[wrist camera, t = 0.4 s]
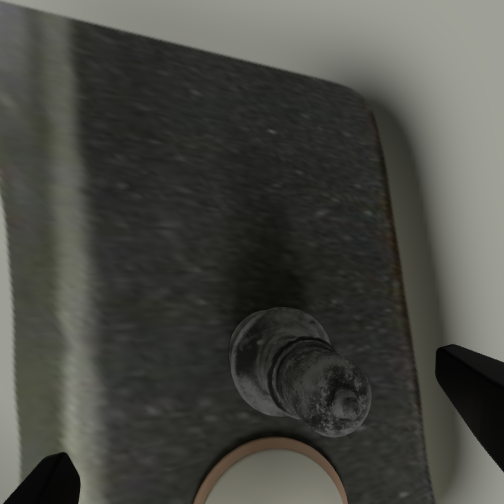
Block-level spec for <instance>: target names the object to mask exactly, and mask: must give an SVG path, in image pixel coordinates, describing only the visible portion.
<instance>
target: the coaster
mask: <svg viewBox="0 0 504 504" xmlns="http://www.w3.org/2000/svg"><path fill="white" fill-rule="evenodd" d="M193 504H348V502H347V497H346V493H345V490H344V487H343V485H342V483H341V480H340V478H339V476H338V475H337V473H336V472H335V470H334V468H333V467H332V466H331V465H330V463H329V462H328V461H327V460H326V459H325V457H324V456H322V455H321V454H320V453H319V452H318V451H317V450H315V449H314V448H312V447H311V446H309V445H308V444H305V443H303V442H301V441H299V440H295V439H292V438H287V437H273V436H271V437H264V438H259V439H255V440H251V441H249V442H247V443H244V444H242V445H240V446H238V447H237V448H235V449H233V450H232V451H230V452H229V453H228V454H226V455H225V456H224V457H223V458H222V459H221V460H220V461H219V462H218V463H217V464H216V465H215V466H214V467H213V468H212V469H211V471H210V472H209V473H208V474H207V476H206V477H205V479H204V481H203V482H202V484H201V486H200V488H199V490H198V492H197V494H196V496H195V499H194V502H193Z"/></svg>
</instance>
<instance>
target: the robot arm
mask: <svg viewBox="0 0 504 504" xmlns="http://www.w3.org/2000/svg"><path fill="white" fill-rule="evenodd" d="M435 374H436V378H437V381H438V383H439V384H440V386H441V387H442V389H443V390H444V392H445V393H446V395H447V396H448V398H449V399H450V401H451V402H452V404H453V405H454V406H455V408H456V409H457V411H458V412H459V414H460V415H461V417H462V418H463V420H464V421H465V423H466V424H467V426H468V427H469V428H470V430H471V431H472V433H473V434H474V436H475V437H476V438H477V440H478V441H479V442H480V444H481V445H482V446H483V447H484V449H485V450H486V451H487V452H488V454H489V455H490V456H491V457H492V459H493V460H494V461H495V462H496V463H497V465H498V466H499V467H500V468H501V470H502V471H503V472H504V362H501V361H499V360H496V359H493V358H491V357H488V356H485V355H482V354H480V353H477V352H474V351H472V350H469V349H466V348H464V347H461V346H458V345H455V344H450V345H447V346H443V347H440V348H438V349H437V351H436V367H435ZM80 486H81V483H80V477H79V474H78V472H77V470H76V468H75V467H74V465H73V463H72V461H71V459H70V457H69V456H68V454H67V453H65V452H61V453H57V454H53V455H50V456H47V457H45V458H44V459H43V460H42V461H41V462H40V463H39V464H38V465H37V466H36V467H35V468H34V469H33V471H32V472H31V473H30V474H29V475H28V476H27V477H26V478H25V480H24V481H23V482H22V483H21V484H20V485H19V486H18V487H17V489H16V490H15V491H14V492H13V493H12V494H11V495H10V497H9V498H8V499H7V500H6V501H5V502H4V503H3V504H78V502H79V495H80Z"/></svg>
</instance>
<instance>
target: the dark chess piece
mask: <svg viewBox="0 0 504 504" xmlns="http://www.w3.org/2000/svg"><path fill="white" fill-rule="evenodd" d="M229 361H230V364H231V373H232V377H233V380H234V384H235V387H236V388H237V390H238V391H239V393H240V395H241V396H242V398H243V399H244V400H245V401H246V402H247V403H248V404H249V405H250V406H251V407H253V408H254V409H256V410H258V411H260V412H262V413H264V414H266V415H271V416H277V417H283V416H291V417H293V418H296V419H301V420H302V421H303V422H304V423H305V424H306V425H307V426H308V427H309V428H310V429H311V430H313V431H315V432H317V433H319V434H321V435H323V436H328V437H340V436H345V435H347V434H349V433H351V432H353V431H354V430H355V429H357V428H358V427H359V426H360V425H361V424H362V422H363V421H364V420H365V418H366V416H367V414H368V412H369V409H370V405H371V399H372V397H371V387H370V384H369V381H368V378H367V377H366V375H365V373H364V372H363V370H362V369H361V368H360V367H359V366H357V365H356V364H355V363H354V362H353V361H351V360H349V359H347V358H345V357H343V356H341V355H339V353H338V351H337V350H336V349H335V348H334V347H333V346H332V345H331V343H330V340H329V337H328V335H327V333H326V332H325V330H324V329H323V327H322V325H321V324H320V323H318V322H317V321H316V320H315V319H314V318H313V317H312V316H311V315H309V314H307V313H305V312H303V311H301V310H298V309H294V308H290V307H276V308H271V309H268V310H261V311H258V312H255V313H252V314H250V315H249V316H247V317H246V318H244V319H243V320H242V321H241V322H240V323H239V325H238V326H237V327H236V328H235V330H234V332H233V334H232V336H231V340H230V344H229Z"/></svg>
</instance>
